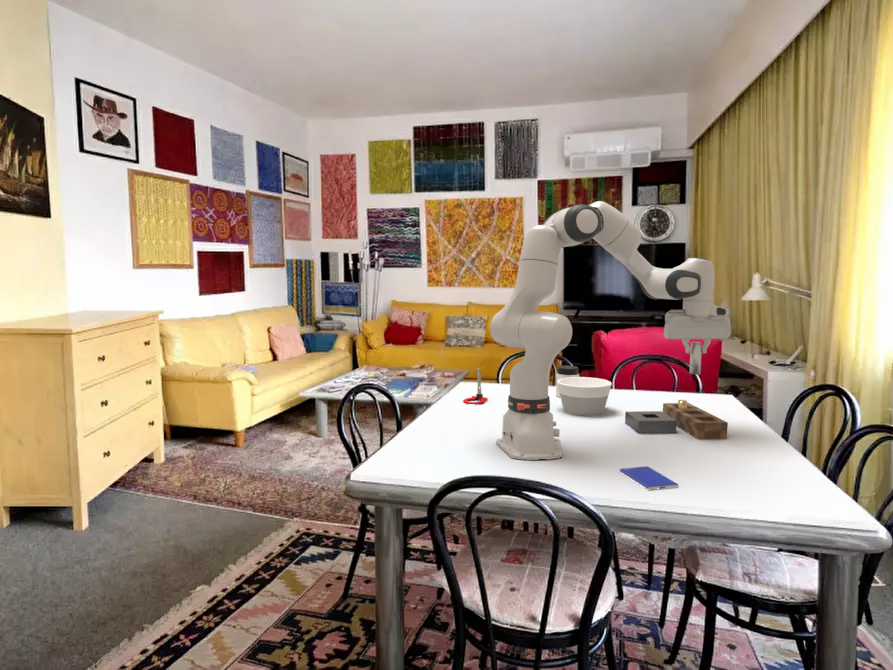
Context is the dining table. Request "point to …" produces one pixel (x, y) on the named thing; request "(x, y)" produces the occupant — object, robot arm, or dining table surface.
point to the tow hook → (479, 395)
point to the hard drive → (648, 477)
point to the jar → (565, 375)
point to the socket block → (650, 422)
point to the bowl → (584, 395)
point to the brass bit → (682, 404)
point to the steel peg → (695, 358)
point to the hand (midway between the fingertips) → (695, 353)
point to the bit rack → (697, 421)
